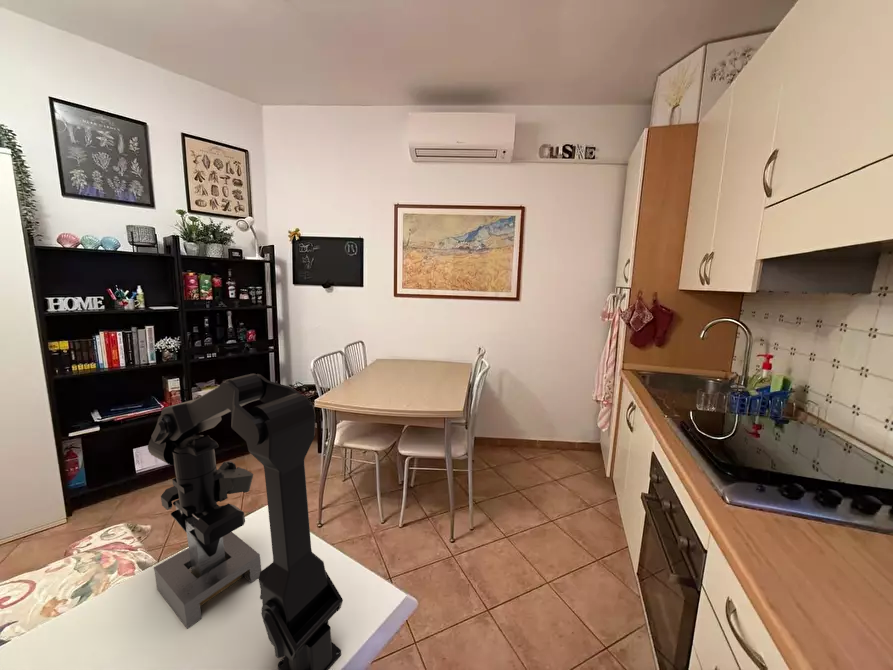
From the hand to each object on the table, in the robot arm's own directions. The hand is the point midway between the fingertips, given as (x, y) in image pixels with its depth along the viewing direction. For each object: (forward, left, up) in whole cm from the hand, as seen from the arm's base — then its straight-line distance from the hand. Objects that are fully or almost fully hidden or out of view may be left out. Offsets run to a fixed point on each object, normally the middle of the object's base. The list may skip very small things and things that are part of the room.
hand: (206, 549), depth 62 cm
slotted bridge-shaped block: (0, 0, -7) cm, 7 cm away
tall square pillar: (0, 0, -4) cm, 4 cm away
